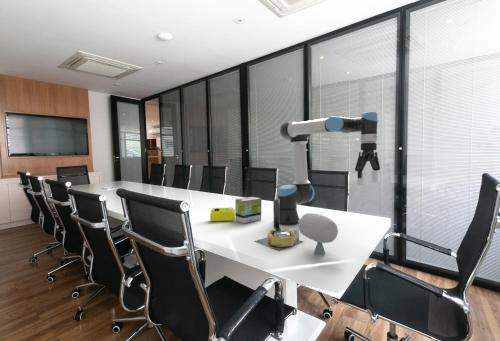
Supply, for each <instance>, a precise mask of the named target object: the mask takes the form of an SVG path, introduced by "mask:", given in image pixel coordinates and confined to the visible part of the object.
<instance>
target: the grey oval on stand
mask: <svg viewBox="0 0 500 341" xmlns="http://www.w3.org/2000/svg"><path fill="white" fill-rule="evenodd" d="M298 228H299V229H298V230H299V233H301V235H303V236H304V237H306V238H308V239H310V240H312V241H314V242H316V245H315V248H314V251H313V254H314V255H317V256H325V255H326V251H325V247H324V245H323V244H327V243H332V242H333V241H335V240H336V238H337V236H338V233H339V229H338V225H337V223H335V221H334V220H332V218H329V217H327V216H325V215H322V214H319V213H315V212H314V213H313V212H311V213H310V212H307V213H305V214H303V215H302V216H301V218H299V220H298Z"/></svg>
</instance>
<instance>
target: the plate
mask: <svg viewBox="0 0 500 341" xmlns="http://www.w3.org/2000/svg"><path fill="white" fill-rule="evenodd" d="M293 232H294V233H295V234H296V243H295V244H294V245H293V246H288V247H278V246H273V245H271V244H270V243H269V242H268V236H267V237H263V238H261V239H257V240H254V241H253V242H255V243H257V244H259V245H262V246H265V247H266V248H269V249H271V250H274V251H277V252H281V251H283V250H286V249H289V248H292V247H294V246H297V245H301V244H303V243H304V241H303V240H301V239H300V230H299V229H293ZM274 235H279V237H290V233H289V232H286V231H277V232H275V233H274Z"/></svg>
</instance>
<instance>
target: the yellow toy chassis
mask: <svg viewBox="0 0 500 341" xmlns="http://www.w3.org/2000/svg"><path fill="white" fill-rule="evenodd" d="M209 215H210V216H209V217H210V222H222V221H224V222H226V221H228V222H232V221H235V208H233V207H213V208H212V209H211V210H210V214H209Z"/></svg>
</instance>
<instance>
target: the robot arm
mask: <svg viewBox="0 0 500 341" xmlns="http://www.w3.org/2000/svg"><path fill="white" fill-rule="evenodd" d="M378 122H379V121H378V113H377V112H376V111H365V112H362V113H361V116H360V117H353V118H352V117H351V118H350V117H343V116H338V115H334V116H333V115H332V116H329V117H325V118H318V119H313V120H311V119H310V120H306V121H298V122H297V121H293V120H292V121H285V122H284V123H282V124H281V126H280V128H279V133H280V136H281V137H282V138H283V139H285V140H289V141H290V145H292V151H293V152H292V154H293V155H292V156H293V170H294V181H293V182H292V184H283V185H280V187H279V188H278V190H277V195H278V196H277V199H279V225H285V226H292V225H297V224H298V225H299V223H298V220H300V217H299V213H298V210H297V209H298V208H297V207H298V206H297V205H301V204H307V203H310V202H312V200H313V199H314V197H315V189H314V188H313V186H312V185H311V182H310V181H309V178H308V177H309V176H308V174H309V173H308V161H307V160H308V159H307V158H308V156H307V144H308V142H309V139H310V138H311V136H312V134H323V133H334V132H341V133H345V134H347V133H348V134H350V133H360V135H361V136H360V142H361V143H360V151H359V152H358V157H357V160H356V163H355V167H354V171H355V172H357V185H361V186H363V185H364V175H365V173H364V169H365V167H366V164H367V162H369V164H370V167H371V168H372V170H371V183H374V184H375V183H376V184H377V183H378V171H380V170H381V166H380V162H379V157H378V151H377V148H378V144H377V141H378Z"/></svg>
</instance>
